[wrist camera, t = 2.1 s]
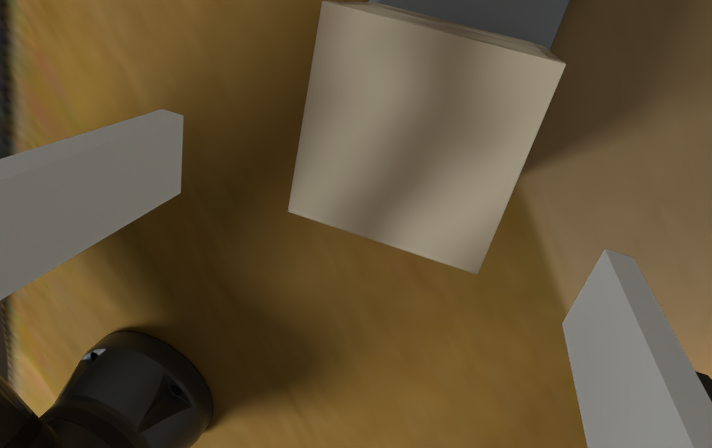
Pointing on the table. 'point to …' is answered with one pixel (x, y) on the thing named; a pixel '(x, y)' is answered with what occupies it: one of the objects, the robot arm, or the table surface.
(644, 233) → the table surface
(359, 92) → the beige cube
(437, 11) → the board
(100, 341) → the robot arm
